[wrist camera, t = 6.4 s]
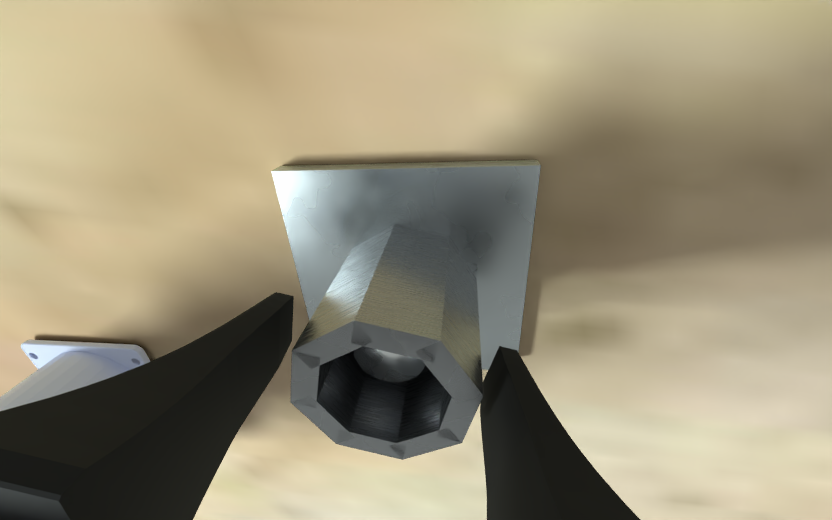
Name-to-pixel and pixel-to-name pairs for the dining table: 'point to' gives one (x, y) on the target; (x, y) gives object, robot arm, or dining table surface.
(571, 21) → the dining table surface
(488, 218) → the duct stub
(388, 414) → the collar
